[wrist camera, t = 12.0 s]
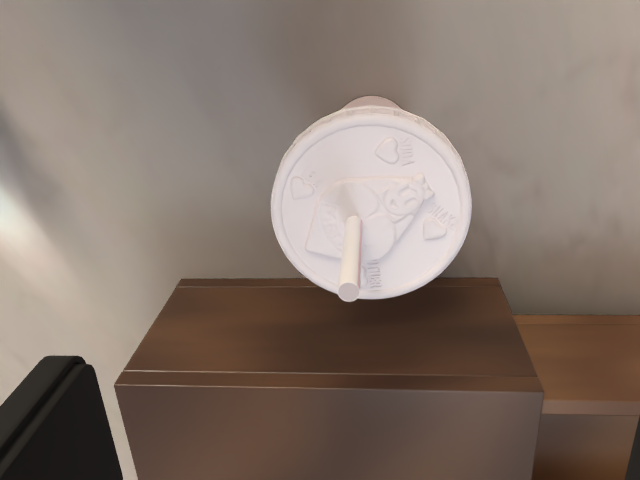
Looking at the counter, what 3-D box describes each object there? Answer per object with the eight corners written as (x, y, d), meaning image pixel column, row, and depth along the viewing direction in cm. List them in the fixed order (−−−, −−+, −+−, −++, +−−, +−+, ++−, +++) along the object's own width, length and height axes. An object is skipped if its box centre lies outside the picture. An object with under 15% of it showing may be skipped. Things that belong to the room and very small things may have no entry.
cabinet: (497, 277, 29) (545, 392, 21) (478, 485, 35) (509, 634, 27) (180, 278, 30) (112, 384, 22) (216, 476, 37) (172, 614, 29)
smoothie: (276, 111, 26) (186, 236, 13) (398, 35, 24) (427, 98, 12) (346, 221, 28) (325, 419, 15) (464, 159, 26) (548, 327, 14)
